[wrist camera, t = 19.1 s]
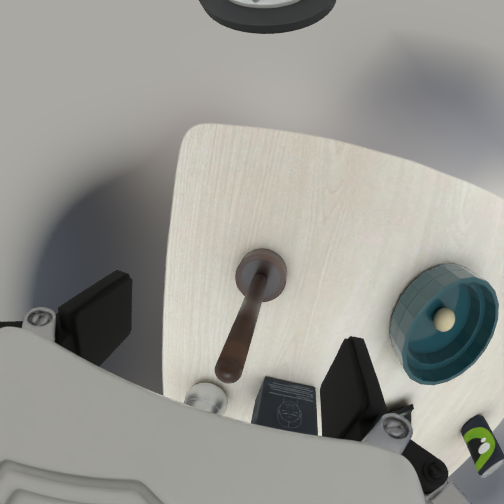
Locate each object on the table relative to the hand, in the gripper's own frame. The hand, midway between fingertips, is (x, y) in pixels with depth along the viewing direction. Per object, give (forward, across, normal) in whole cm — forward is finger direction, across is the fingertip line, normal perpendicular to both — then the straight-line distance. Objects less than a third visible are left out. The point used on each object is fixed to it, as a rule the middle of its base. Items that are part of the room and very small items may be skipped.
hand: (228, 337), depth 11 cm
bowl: (+21, -25, +5) cm, 33 cm away
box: (+21, -8, +23) cm, 32 cm away
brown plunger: (+21, 0, +5) cm, 22 cm away
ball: (+19, -25, +4) cm, 32 cm away
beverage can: (+20, -54, +28) cm, 64 cm away
